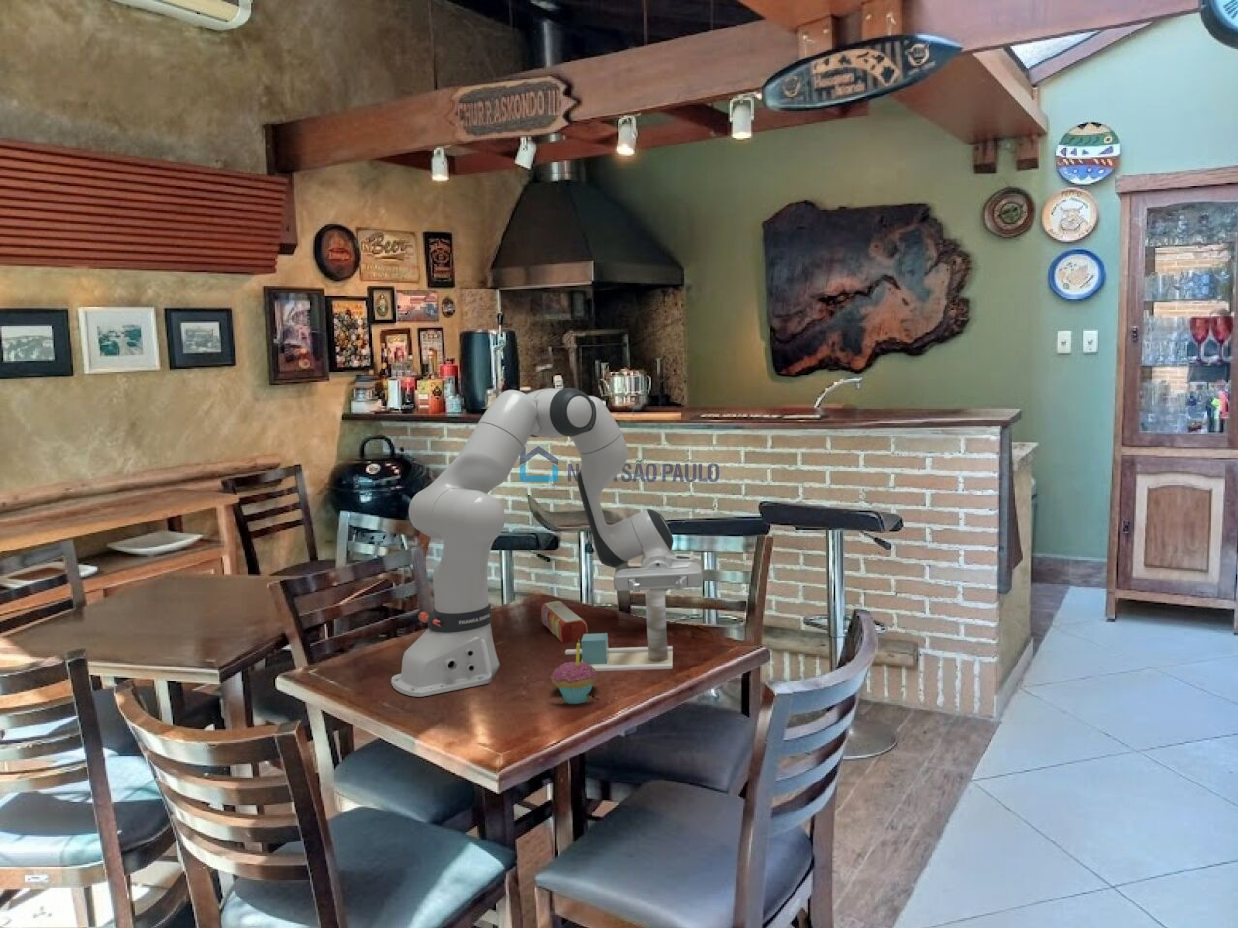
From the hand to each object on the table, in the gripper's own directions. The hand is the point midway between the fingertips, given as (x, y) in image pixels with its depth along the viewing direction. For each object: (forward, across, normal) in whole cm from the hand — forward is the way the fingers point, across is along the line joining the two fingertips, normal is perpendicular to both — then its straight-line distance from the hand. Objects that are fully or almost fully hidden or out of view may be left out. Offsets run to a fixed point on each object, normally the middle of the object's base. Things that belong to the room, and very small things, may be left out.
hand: (657, 587), depth 200 cm
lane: (+13, -8, +13) cm, 20 cm away
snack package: (-11, -23, +14) cm, 29 cm away
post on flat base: (+13, -7, +13) cm, 19 cm away
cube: (+13, -13, +12) cm, 22 cm away
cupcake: (+31, -16, +13) cm, 37 cm away
